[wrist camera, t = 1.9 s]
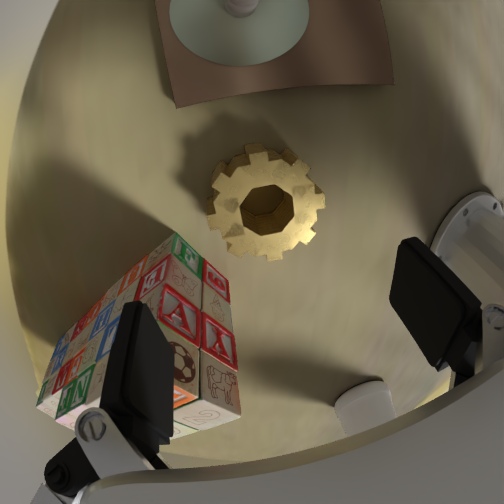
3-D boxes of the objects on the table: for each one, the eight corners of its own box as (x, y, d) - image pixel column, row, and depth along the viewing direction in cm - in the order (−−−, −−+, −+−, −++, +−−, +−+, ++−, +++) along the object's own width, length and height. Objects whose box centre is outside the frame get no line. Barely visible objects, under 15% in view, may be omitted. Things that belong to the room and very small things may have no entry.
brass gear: (305, 135, 17) (320, 143, 15) (313, 228, 21) (326, 249, 19) (197, 155, 17) (193, 166, 15) (220, 247, 21) (221, 271, 19)
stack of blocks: (98, 368, 28) (80, 457, 18) (57, 340, 25) (26, 430, 15) (230, 279, 23) (245, 420, 13) (176, 227, 20) (146, 373, 10)
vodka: (395, 380, 38) (454, 528, 13) (356, 409, 42) (400, 548, 16) (363, 374, 35) (427, 555, 9) (321, 406, 38) (364, 569, 13)
